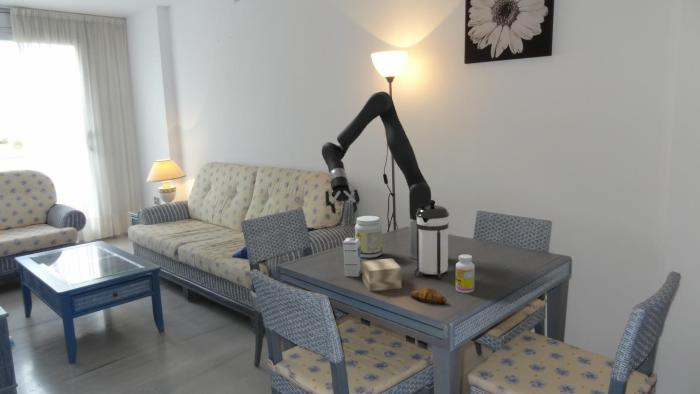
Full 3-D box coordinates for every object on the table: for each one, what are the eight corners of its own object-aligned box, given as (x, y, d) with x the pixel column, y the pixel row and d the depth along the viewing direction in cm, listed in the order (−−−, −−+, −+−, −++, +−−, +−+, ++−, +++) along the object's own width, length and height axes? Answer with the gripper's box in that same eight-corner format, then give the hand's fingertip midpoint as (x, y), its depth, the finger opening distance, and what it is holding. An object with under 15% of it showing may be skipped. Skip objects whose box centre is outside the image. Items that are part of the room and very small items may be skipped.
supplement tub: (352, 252, 233) (351, 216, 230) (377, 249, 236) (376, 214, 233) (360, 259, 221) (359, 222, 218) (386, 256, 225) (385, 219, 221)
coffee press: (459, 278, 195) (460, 202, 189) (419, 281, 192) (419, 204, 187) (444, 264, 211) (444, 194, 206) (407, 267, 209) (406, 196, 203)
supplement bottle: (453, 287, 185) (453, 253, 183) (470, 286, 186) (471, 252, 184) (458, 294, 179) (458, 259, 176) (476, 293, 179) (477, 258, 177)
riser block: (392, 277, 198) (392, 258, 197) (401, 288, 187) (401, 267, 185) (362, 280, 196) (362, 261, 194) (369, 291, 184) (369, 270, 183)
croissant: (450, 301, 173) (450, 287, 172) (441, 308, 168) (441, 294, 167) (415, 294, 181) (415, 280, 180) (406, 300, 175) (405, 286, 174)
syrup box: (358, 277, 200) (357, 241, 197) (344, 276, 201) (342, 241, 198) (361, 272, 205) (360, 237, 202) (347, 271, 206) (345, 237, 204)
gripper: (323, 176, 214) (329, 208, 205) (356, 174, 217) (362, 206, 208) (321, 186, 220) (327, 218, 211) (353, 185, 223) (360, 215, 214)
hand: (344, 212), depth 210 cm, fingers open, 8 cm apart
